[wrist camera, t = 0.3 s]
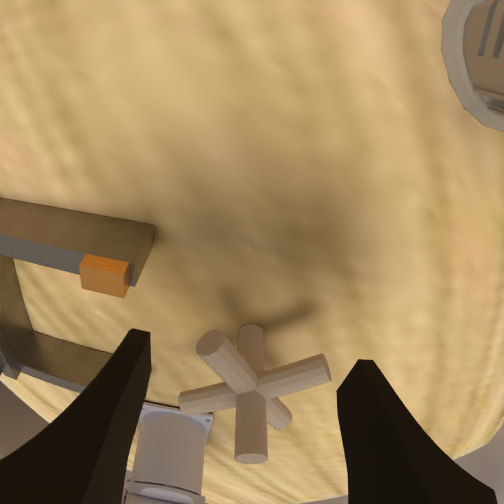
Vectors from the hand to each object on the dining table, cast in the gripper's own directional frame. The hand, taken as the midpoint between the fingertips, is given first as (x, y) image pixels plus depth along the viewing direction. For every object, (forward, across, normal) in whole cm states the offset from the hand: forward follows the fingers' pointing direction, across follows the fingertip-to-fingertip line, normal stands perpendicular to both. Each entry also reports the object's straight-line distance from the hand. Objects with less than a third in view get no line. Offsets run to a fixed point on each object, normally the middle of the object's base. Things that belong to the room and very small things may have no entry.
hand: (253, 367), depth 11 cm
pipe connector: (+10, -2, +8) cm, 13 cm away
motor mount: (+10, +16, +8) cm, 21 cm away
